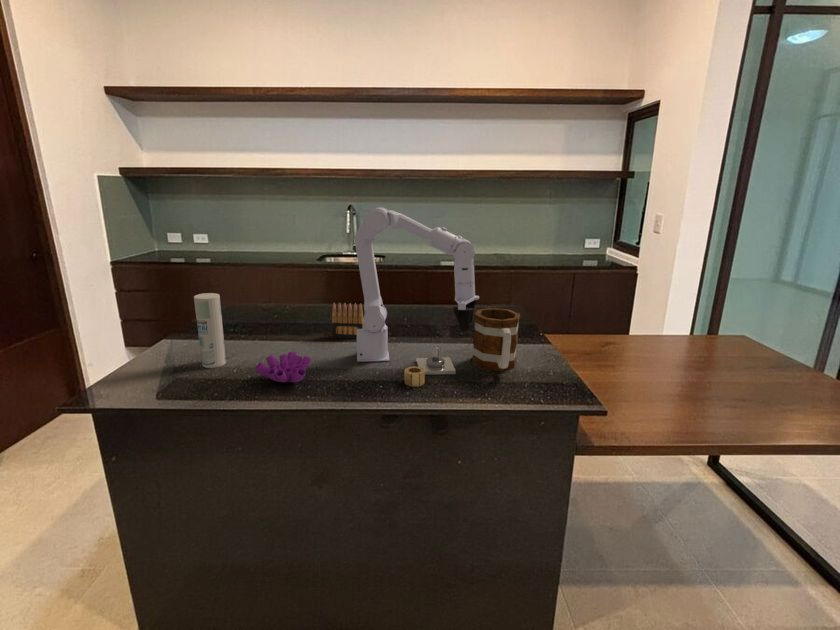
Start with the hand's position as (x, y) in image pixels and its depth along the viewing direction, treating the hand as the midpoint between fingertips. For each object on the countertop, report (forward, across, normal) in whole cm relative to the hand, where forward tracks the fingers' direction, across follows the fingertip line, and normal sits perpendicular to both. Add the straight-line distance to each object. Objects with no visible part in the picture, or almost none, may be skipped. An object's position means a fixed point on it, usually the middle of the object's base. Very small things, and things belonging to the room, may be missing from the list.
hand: (466, 326), depth 139 cm
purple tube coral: (+6, -28, +45) cm, 53 cm away
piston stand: (+10, -9, +8) cm, 15 cm away
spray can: (+4, -24, +69) cm, 74 cm away
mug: (+11, -3, -9) cm, 15 cm away
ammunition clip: (+7, +9, +42) cm, 43 cm away
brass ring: (+9, -21, +11) cm, 25 cm away
